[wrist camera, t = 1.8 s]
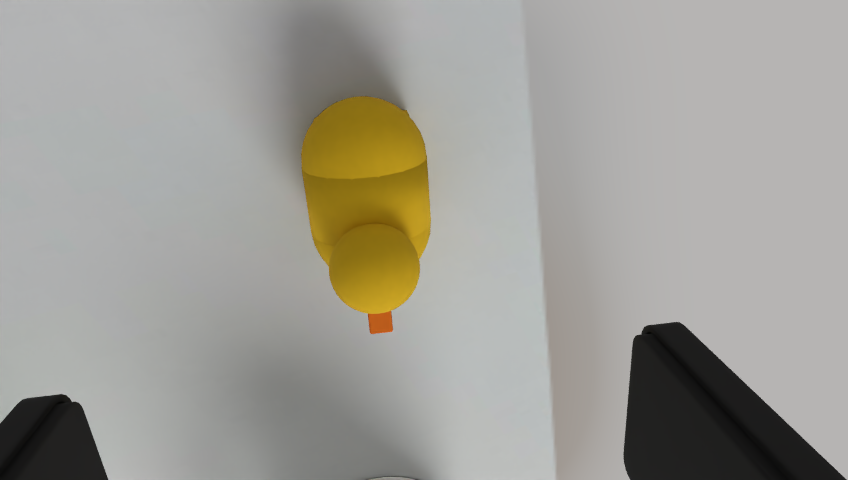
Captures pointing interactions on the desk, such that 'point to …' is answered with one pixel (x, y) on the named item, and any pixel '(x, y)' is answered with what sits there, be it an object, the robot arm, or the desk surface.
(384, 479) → the mug
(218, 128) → the desk surface
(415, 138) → the duck
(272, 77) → the desk surface
